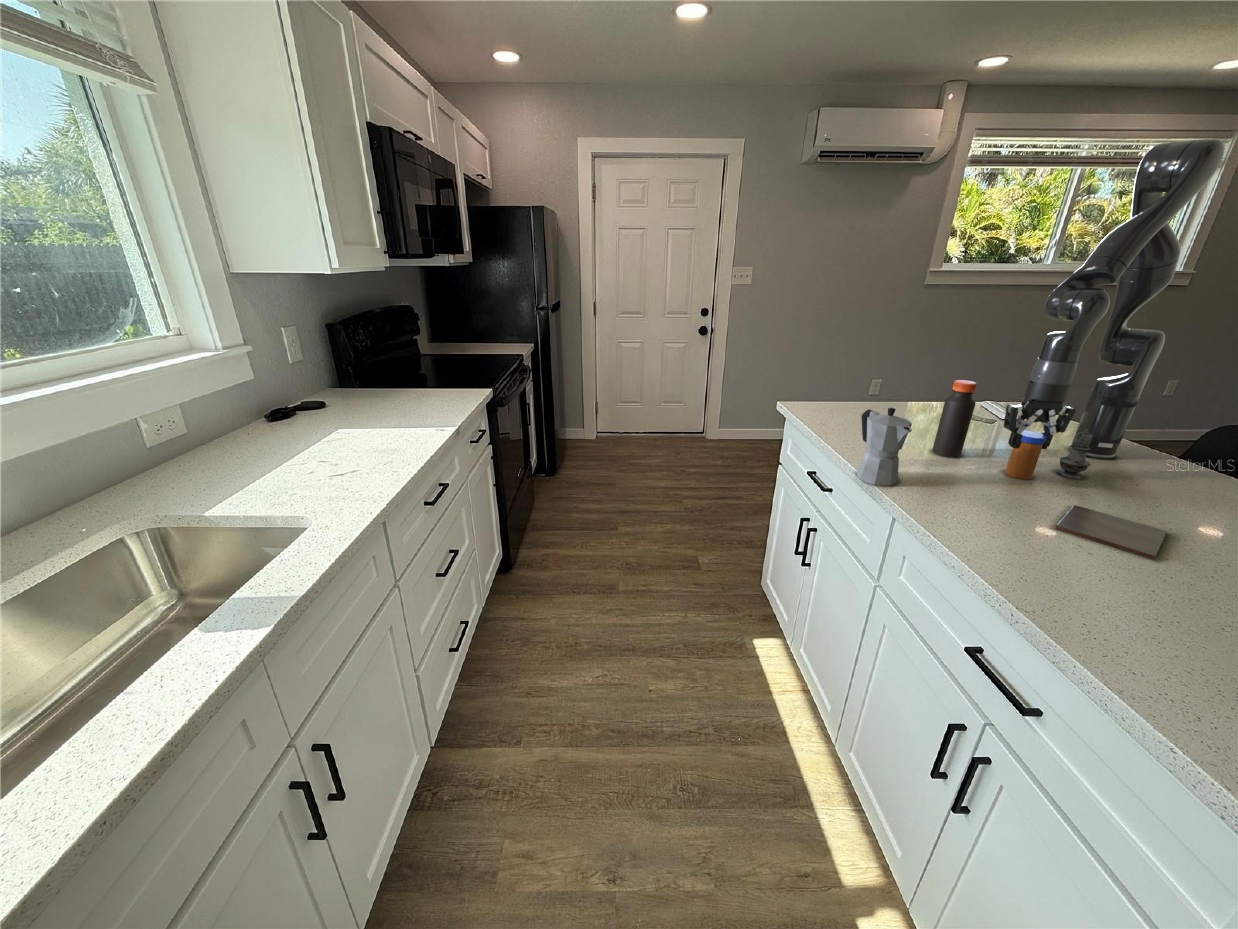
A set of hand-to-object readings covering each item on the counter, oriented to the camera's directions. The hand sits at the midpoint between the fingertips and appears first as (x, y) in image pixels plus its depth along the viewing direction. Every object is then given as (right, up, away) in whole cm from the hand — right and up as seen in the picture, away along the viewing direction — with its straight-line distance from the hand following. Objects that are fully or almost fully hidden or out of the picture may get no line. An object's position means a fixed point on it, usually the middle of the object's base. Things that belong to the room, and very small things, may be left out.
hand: (1027, 447), depth 119 cm
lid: (0, +3, -1) cm, 3 cm away
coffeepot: (-36, -7, +2) cm, 37 cm away
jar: (0, -7, +3) cm, 7 cm away
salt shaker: (+13, -7, +3) cm, 15 cm away
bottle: (-9, -1, +16) cm, 19 cm away
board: (-2, -17, -22) cm, 28 cm away
